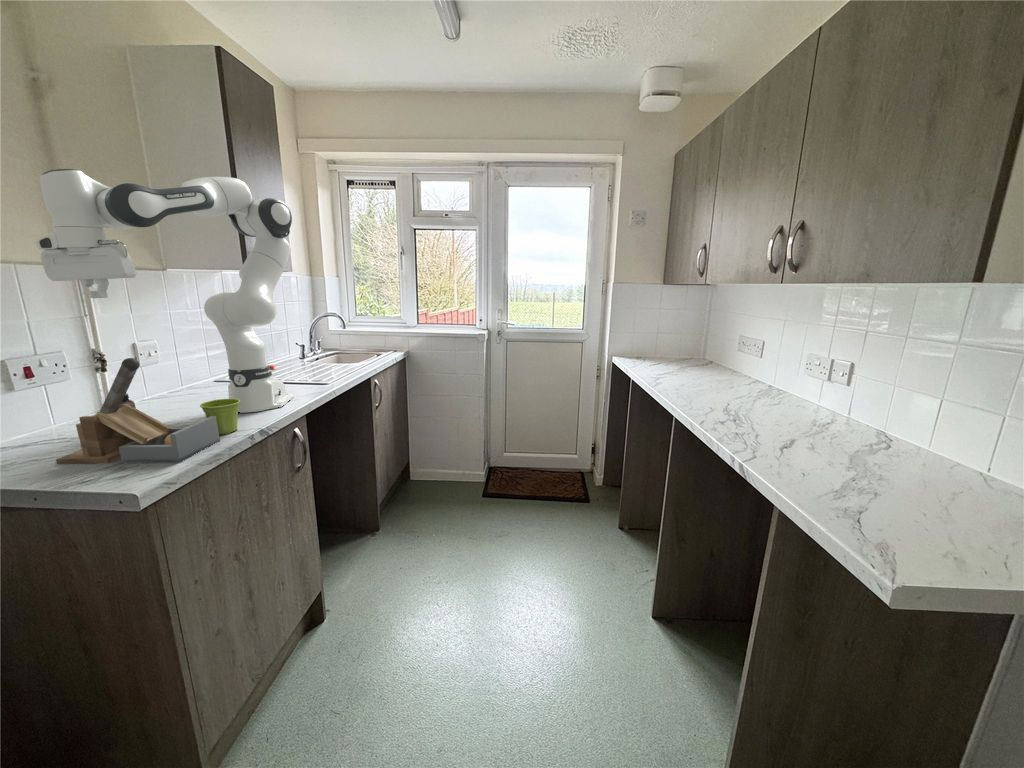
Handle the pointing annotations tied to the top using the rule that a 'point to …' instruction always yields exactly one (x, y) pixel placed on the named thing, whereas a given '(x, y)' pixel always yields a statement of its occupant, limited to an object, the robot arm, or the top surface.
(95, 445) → the lever stand
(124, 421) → the launcher
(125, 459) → the bin
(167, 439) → the ball
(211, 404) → the plant pot
